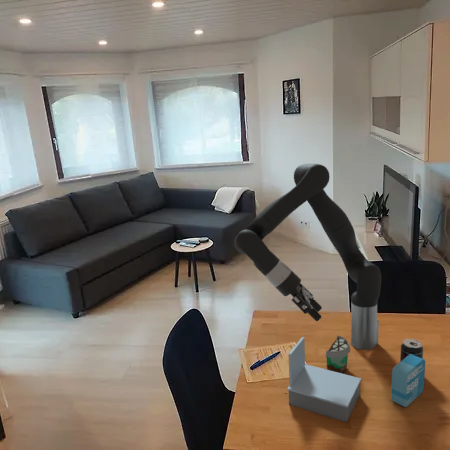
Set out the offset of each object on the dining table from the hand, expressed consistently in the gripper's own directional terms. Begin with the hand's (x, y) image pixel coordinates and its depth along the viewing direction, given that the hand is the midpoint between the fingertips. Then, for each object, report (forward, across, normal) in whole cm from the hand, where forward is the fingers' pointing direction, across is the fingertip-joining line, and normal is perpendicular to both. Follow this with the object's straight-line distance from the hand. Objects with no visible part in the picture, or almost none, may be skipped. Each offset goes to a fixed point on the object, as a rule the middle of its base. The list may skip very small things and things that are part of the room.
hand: (319, 314), depth 140 cm
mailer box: (+20, -5, +17) cm, 27 cm away
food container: (+22, +12, +12) cm, 28 cm away
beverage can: (+38, +12, -4) cm, 40 cm away
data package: (+37, 0, -1) cm, 37 cm away
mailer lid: (+16, -5, +14) cm, 22 cm away
